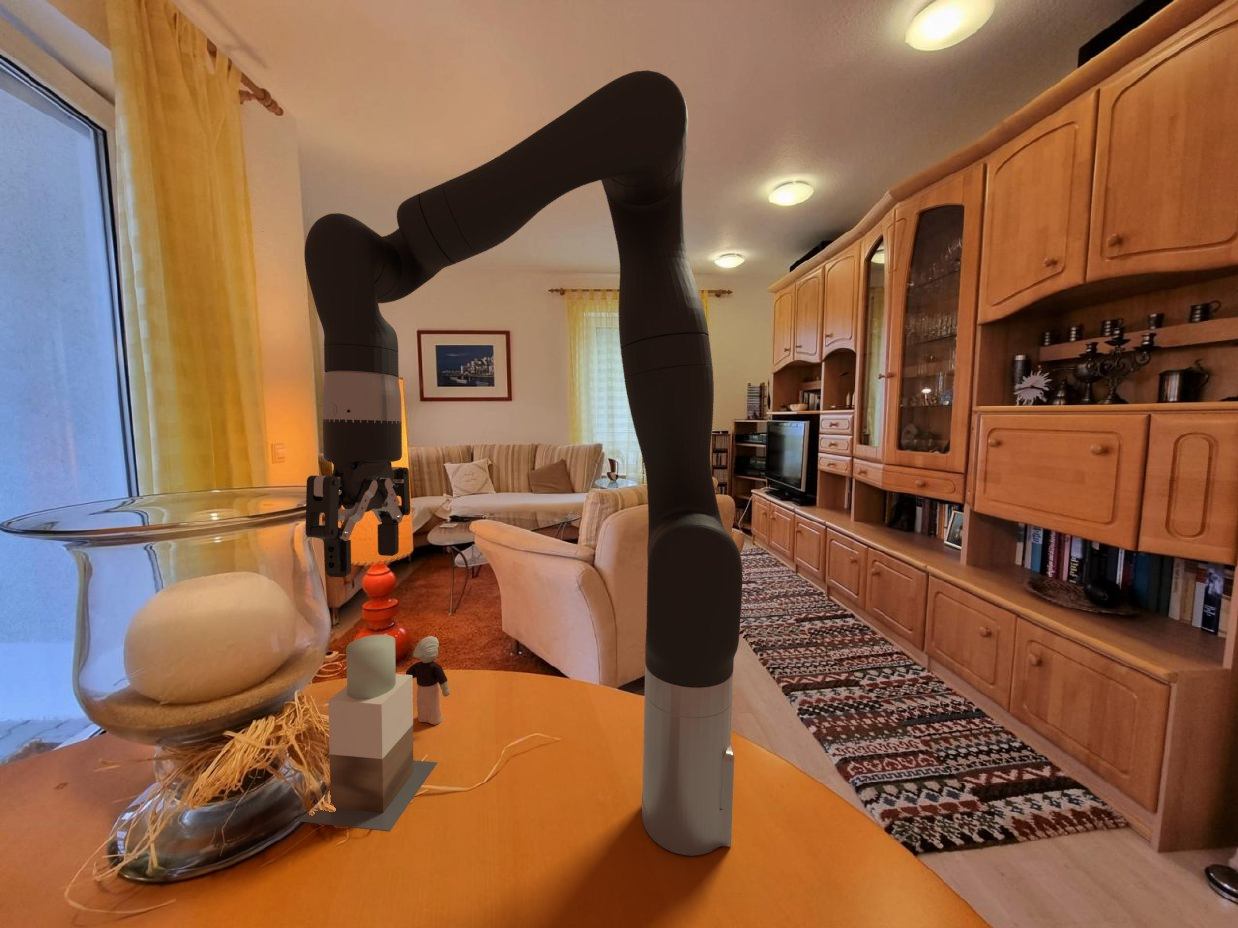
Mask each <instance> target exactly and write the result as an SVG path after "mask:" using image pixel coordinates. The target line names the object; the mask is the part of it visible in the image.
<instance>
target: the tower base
mask: <svg viewBox="0 0 1238 928" xmlns="http://www.w3.org/2000/svg"><path fill="white" fill-rule="evenodd" d="M413 760H414V724H413V725H412V726H411V727H410V728H409V729H408V731H407V732H406V733H405V734H404V735H403V736H402V737H401V739H400V740H399V741H398V742H397V743H396V744H395V745H394V747H393V748H392V749H391V750H390V751H389V752H388V753H387V755H386V756H385V757H384V758H383V759H376V758H365V757H354V756H343V755H332V754H330V753H329V785H330V786H329V789H330V795H331V803H332V804H333V805H334V807H335V808H340V809H349V810H359V811H368V812H378V813H384V811H385V810H386V809H387V807H388V806H389V805H390V803H391V802H392V801H393V799H394V798H395V797H396V795H397V794H398V793H399V791H400V790H401V789H402V787H403V786H404V785H405V783H406V782H407V781H408V779H409V778H410V777H411V775H412V774H413V773H414V767H413Z"/></svg>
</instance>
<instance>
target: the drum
mask: <svg viewBox="0 0 1238 928" xmlns="http://www.w3.org/2000/svg"><path fill="white" fill-rule="evenodd" d="M345 650H346V652H345V653H346V655H345V656H346V657H345V659H346V661H345V662H346V686H347V695H348V696H349V697H351V698H353V699H370V698H375V697H378V696H381V695H383V694H385V693H387V692H389V691H390V690H391V689H393V688H394V686H395V684H396V674H397V673H396V666H397V665H396V638H395V637H394V636H392V635H389V634H372V635H367V636H364V637H363V636H362V637H359V638H358V639H357V638H356V639H355V640H353V641H351V642H350V643H348V644H347V645H346V648H345Z"/></svg>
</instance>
